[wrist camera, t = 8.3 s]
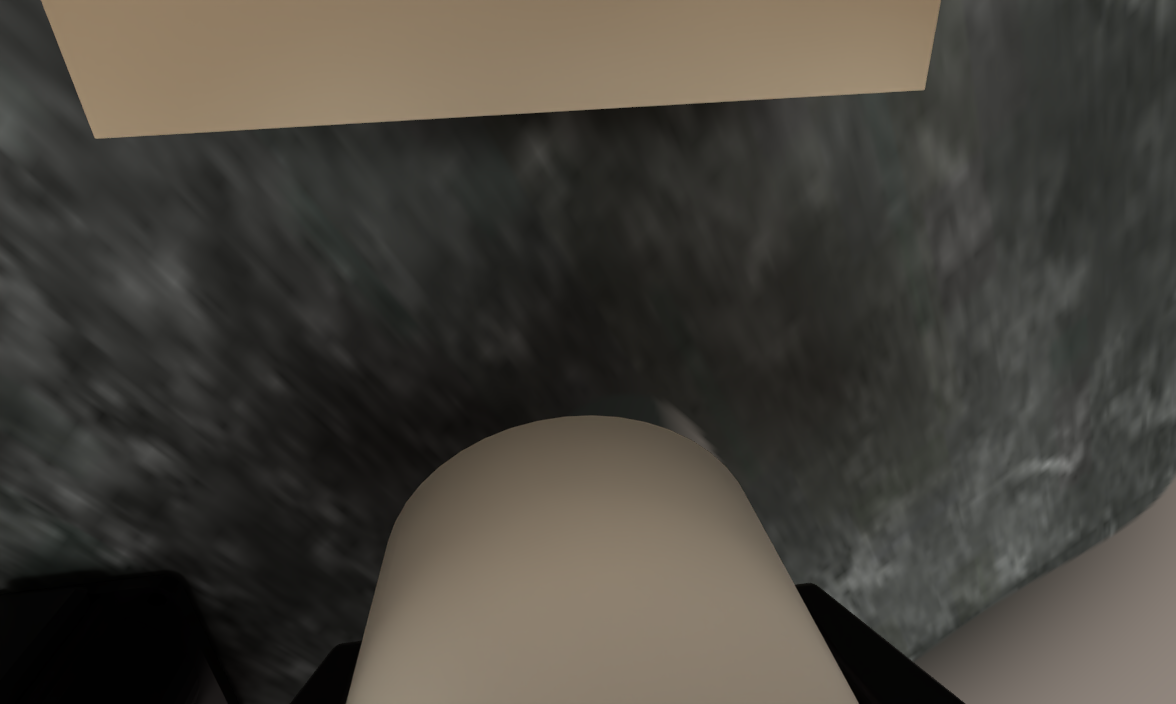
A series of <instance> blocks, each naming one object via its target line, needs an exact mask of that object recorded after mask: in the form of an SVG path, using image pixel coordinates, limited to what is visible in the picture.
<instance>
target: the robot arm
mask: <svg viewBox="0 0 1176 704" xmlns="http://www.w3.org/2000/svg"><path fill="white" fill-rule="evenodd" d="M795 587H796V589H797V590H798V592H799V594H800V596H801V598H802V600H803V602H804V603H805V605H806V607H807V609H808V611H809V613H810V614H811V616H812V618H813V620H814V622H815V624H816V625H817V627H818V629H819V631H820V633H821V635H822V636H823V638H824V640H825V642H826V644H827V646H828V648H829V649H830V651H831V653H832V655H833V657H834V659H835V660H836V662H837V664H838V666H839V668H840V670H841V671H842V673H843V675H844V677H845V679H846V681H847V683H848V684H849V686H850V688H851V690H852V692H853V694H854V695H855V697H856V699H857V701H858V703H859V704H965V703H964V702H963V701H961V700H960V699H959V698H958V697H956V696H955V695H954V694H953V693H951V692H950V691H949V690H948V689H946V688H945V687H944V686H943V685H941V684H940V683H939V682H937V681H936V680H935V679H934V678H933V677H931V676H930V675H929V674H928V673H926V672H925V671H924V670H922V669H921V668H920V667H919V666H917V665H916V664H915V663H914V662H912V661H911V660H910V659H909V658H907V657H906V656H905V655H904V654H902V653H901V652H900V651H899V650H897V649H896V648H895V647H894V646H892V645H891V644H890V643H889V642H887V641H886V640H885V639H884V638H882V637H881V636H880V635H879V634H877V633H876V632H875V631H874V630H872V629H871V628H870V627H869V626H867V625H866V624H865V623H864V622H862V621H861V620H860V619H859V618H857V617H856V616H855V615H854V614H852V613H851V612H850V611H849V610H847V609H846V608H845V607H844V606H842V605H841V604H840V603H839V602H837V601H836V600H835V599H834V598H832V597H831V596H830V595H829V594H827V593H826V592H825V591H824V590H822V589H821V588H820V587H818V586H817V585H815V584H812V583H805V584H797V585H795ZM361 643H362V641H357V642H350V643H342V644H339V645H337V646H336V647H334V648H333V649H332V651H331V652H330V653H329V654H328V656H327V657H326V658H325V659H324V661H323V662H322V663H321V665H320V666H319V667H318V668H317V670H316V671H315V672H314V674H313V675H312V676H311V677H310V679H309V680H308V681H307V683H306V684H305V685H304V686H303V688H302V689H301V690H300V692H299V693H298V694H297V695H296V697H295V698H294V699H293V701H292V702H291V703H290V704H346V701H347V697H348V694H349V690H350V686H351V682H352V678H353V674H354V670H355V667H356V663H357V659H358V655H359V651H360V647H361ZM0 704H239V703H238V701H237V699H236V697H235V694H234V692H233V690H232V688H231V686H230V684H229V682H228V680H227V678H226V676H225V673H224V671H223V669H222V667H221V665H220V663H219V661H218V659H217V657H216V655H215V653H214V650H213V648H212V646H211V644H210V642H209V640H208V638H207V636H206V634H205V632H204V630H203V627H202V625H201V623H200V621H199V619H198V617H197V615H196V613H195V611H194V609H193V607H192V604H191V602H190V600H189V598H188V596H187V594H186V592H185V590H184V588H183V586H182V585H181V583H180V582H179V581H178V580H176V579H174V578H172V577H169V576H161V575H157V576H149V577H140V578H132V579H124V580H115V581H107V582H99V583H90V584H82V585H74V586H65V587H57V588H48V589H40V590H32V591H23V592H15V593H7V594H0Z"/></svg>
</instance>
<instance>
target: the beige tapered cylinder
mask: <svg viewBox="0 0 1176 704" xmlns="http://www.w3.org/2000/svg"><path fill="white" fill-rule="evenodd" d="M346 704H859V703H858V701H857V699H856V697H855V695H854V694H853V692H852V690H851V688H850V686H849V684H848V683H847V681H846V679H845V677H844V675H843V673H842V671H841V670H840V668H839V666H838V664H837V662H836V660H835V659H834V657H833V655H832V653H831V651H830V649H829V648H828V646H827V644H826V642H825V640H824V638H823V636H822V635H821V633H820V631H819V629H818V627H817V625H816V624H815V622H814V620H813V618H812V616H811V614H810V613H809V611H808V609H807V607H806V605H805V603H804V602H803V600H802V598H801V596H800V594H799V592H798V590H797V589H796V587H795V585H794V583H793V581H792V579H791V578H790V576H789V574H788V572H787V570H786V568H785V567H784V565H783V563H782V561H781V559H780V557H779V556H778V554H777V552H776V550H775V548H774V546H773V544H772V543H771V541H770V539H769V537H768V535H767V533H766V532H765V530H764V528H763V526H762V524H761V522H760V521H759V519H758V517H757V515H756V513H755V511H754V510H753V508H752V506H751V504H750V502H749V500H748V498H747V497H746V495H745V493H744V491H743V490H742V488H741V486H740V484H739V482H738V481H737V480H736V478H735V477H734V476H733V475H732V474H731V472H730V471H729V470H728V469H727V467H726V466H725V465H724V464H723V463H721V462H720V461H719V460H718V459H717V458H716V457H715V456H714V455H713V454H711V453H710V452H709V451H707V450H706V449H704V448H703V447H701V446H700V445H698V444H697V443H695V442H694V441H692V440H690V439H688V438H686V437H684V436H682V435H680V434H678V433H676V432H673V431H671V430H669V429H666V428H663V427H660V426H657V425H653V424H650V423H647V422H643V421H638V420H632V419H627V418H622V417H609V416H595V415H589V416H566V417H559V418H552V419H546V420H540V421H535V422H531V423H528V424H524V425H520V426H517V427H513V428H509V429H507V430H504V431H502V432H500V433H497V434H495V435H492V436H490V437H487V438H485V439H483V440H481V441H479V442H477V443H475V444H473V445H472V446H470V447H468V448H466V449H464V450H462V451H461V452H459V453H458V454H456V455H455V456H454V457H452V458H451V459H449V460H448V461H447V462H445V463H444V464H442V465H441V466H440V467H438V468H437V469H436V470H435V471H434V472H433V473H432V474H431V475H430V476H429V477H428V478H427V479H426V480H425V481H424V482H422V483H421V485H420V486H419V487H418V488H417V490H416V491H415V492H414V493H413V495H412V496H411V497H410V498H409V499H408V501H407V502H406V504H405V505H404V507H403V509H402V511H401V512H400V514H399V516H398V518H397V519H396V521H395V524H394V526H393V529H392V532H391V534H390V537H389V540H388V543H387V547H386V551H385V555H384V558H383V562H382V566H381V570H380V574H379V578H378V582H377V585H376V589H375V593H374V597H373V601H372V605H371V609H370V612H369V616H368V620H367V624H366V628H365V632H364V636H363V639H362V643H361V647H360V651H359V655H358V659H357V663H356V667H355V670H354V674H353V678H352V682H351V686H350V690H349V694H348V697H347V701H346Z"/></svg>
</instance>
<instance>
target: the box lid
mask: <svg viewBox="0 0 1176 704" xmlns="http://www.w3.org/2000/svg"><path fill="white" fill-rule="evenodd" d="M41 1H42V4H43V6H44V9H45V12H46V14H47V17H48V19H49V22H50V24H51V27H52V29H53V32H54V35H55V37H56V40H57V42H58V45H59V47H60V50H61V53H62V55H63V58H64V60H65V63H66V65H67V68H68V71H69V73H70V76H71V78H72V81H73V83H74V86H75V88H76V91H77V94H78V96H79V99H80V101H81V104H82V106H83V109H84V112H85V114H86V117H87V119H88V122H89V124H90V127H91V130H92V132H93V135H94V137H95V139H98V138H115V137H132V136H149V135H166V134H183V133H200V132H218V131H235V130H252V129H269V128H286V127H303V126H320V125H337V124H354V123H371V122H388V121H405V120H422V119H439V118H456V117H473V116H490V115H507V114H524V113H541V112H558V111H575V110H592V109H609V108H626V107H643V106H660V105H677V104H694V103H711V102H728V101H745V100H763V99H780V98H797V97H814V96H831V95H848V94H865V93H882V92H899V91H916V90H925V85H926V79H927V74H928V68H929V63H930V57H931V52H932V46H933V41H934V35H935V30H936V24H937V19H938V13H939V8H940V2H941V0H41Z"/></svg>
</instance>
